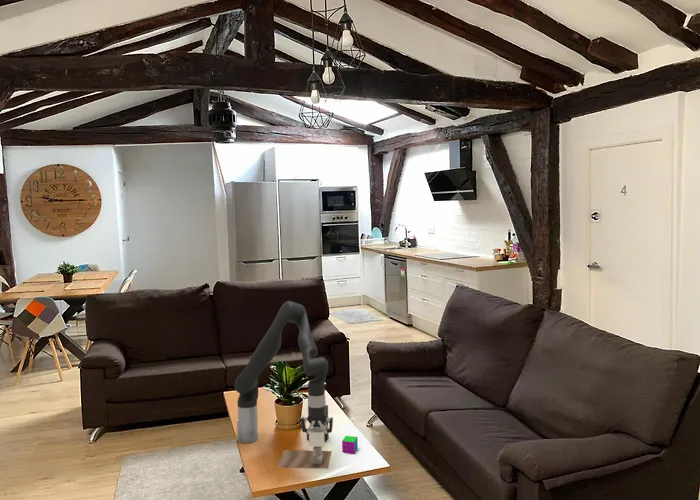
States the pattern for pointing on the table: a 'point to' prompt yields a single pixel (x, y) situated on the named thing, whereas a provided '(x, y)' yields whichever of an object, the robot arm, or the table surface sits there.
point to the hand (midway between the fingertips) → (317, 441)
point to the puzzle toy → (349, 444)
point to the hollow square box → (316, 437)
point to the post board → (305, 458)
